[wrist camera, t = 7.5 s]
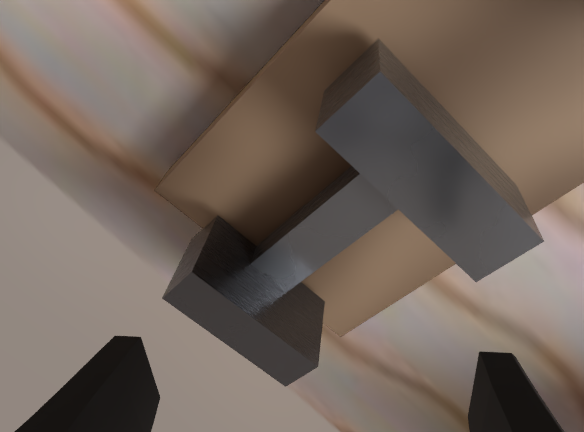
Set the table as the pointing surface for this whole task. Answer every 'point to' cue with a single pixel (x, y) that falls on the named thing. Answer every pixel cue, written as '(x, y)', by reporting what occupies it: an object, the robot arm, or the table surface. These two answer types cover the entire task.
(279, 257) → the ram
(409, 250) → the press bed
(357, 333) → the table surface
